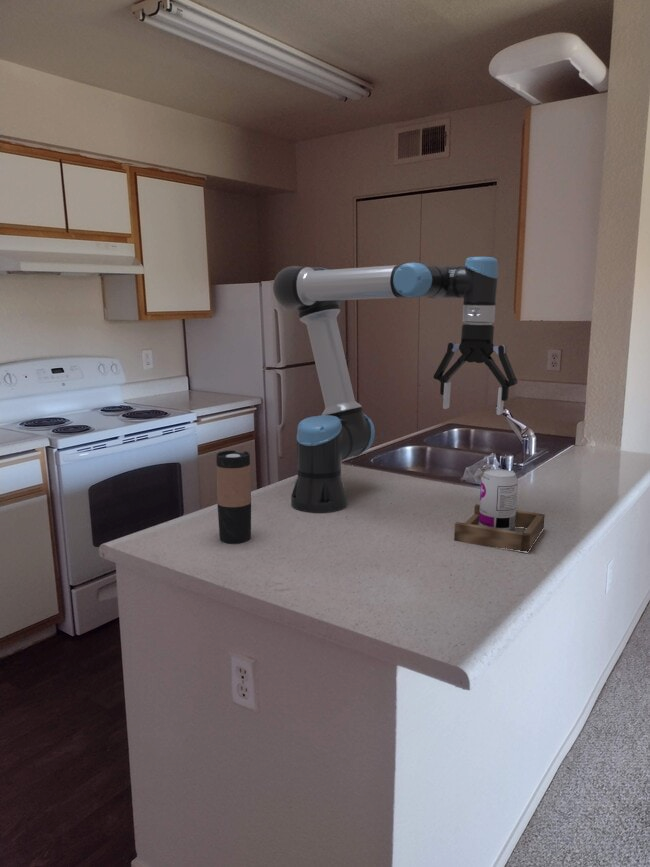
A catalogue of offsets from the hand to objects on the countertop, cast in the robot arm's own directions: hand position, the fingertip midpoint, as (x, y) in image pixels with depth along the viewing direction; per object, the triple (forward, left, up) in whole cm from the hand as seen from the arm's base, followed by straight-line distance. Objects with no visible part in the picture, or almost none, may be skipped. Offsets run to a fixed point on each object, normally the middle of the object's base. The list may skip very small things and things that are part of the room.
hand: (472, 411), depth 159 cm
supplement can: (+10, -10, -27) cm, 31 cm away
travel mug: (-42, -42, -27) cm, 65 cm away
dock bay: (+11, -10, -27) cm, 31 cm away
